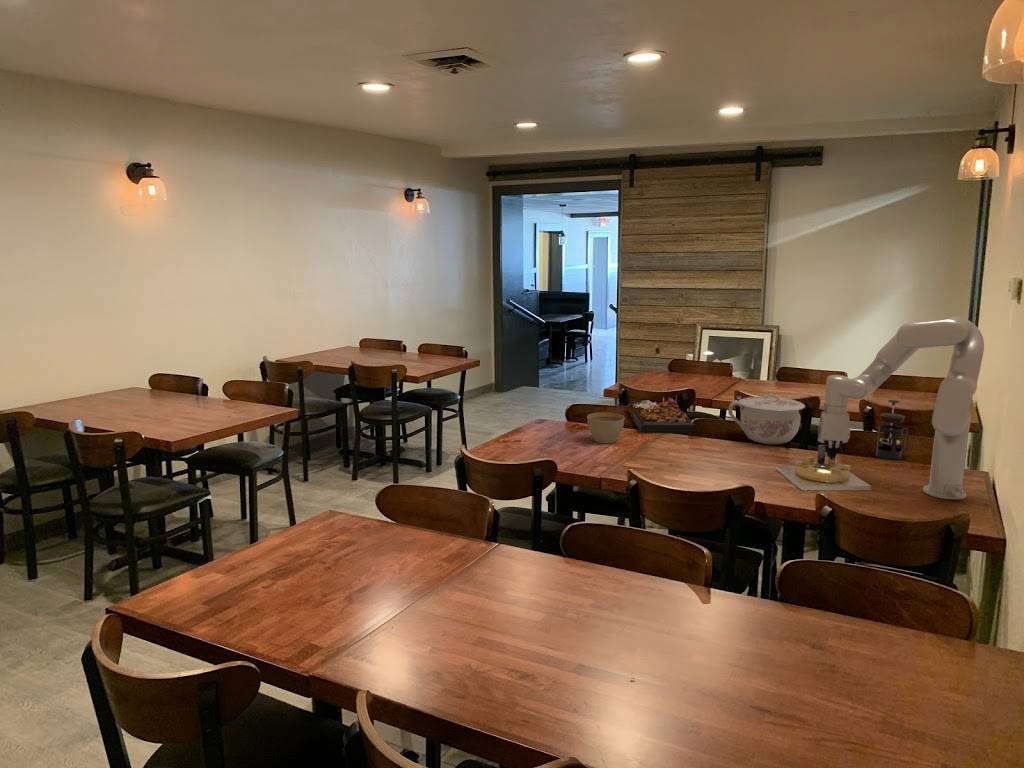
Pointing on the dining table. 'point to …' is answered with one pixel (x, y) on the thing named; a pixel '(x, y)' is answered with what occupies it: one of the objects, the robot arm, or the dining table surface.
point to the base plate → (806, 484)
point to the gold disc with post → (822, 468)
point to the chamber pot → (768, 418)
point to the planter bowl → (605, 426)
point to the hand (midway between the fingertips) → (831, 457)
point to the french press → (892, 451)
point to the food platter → (662, 418)
